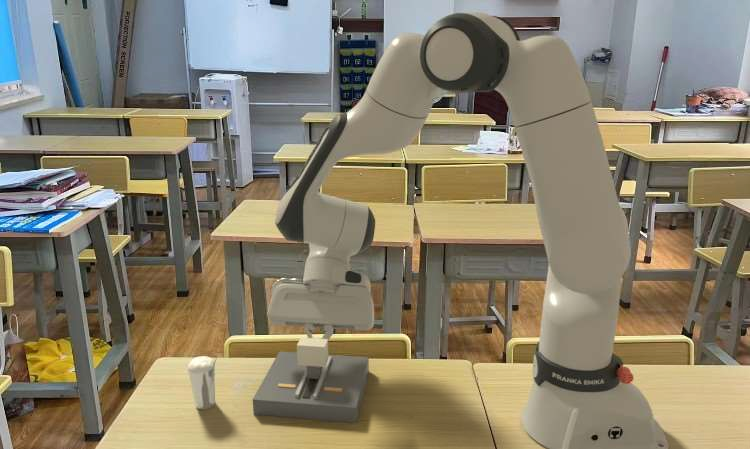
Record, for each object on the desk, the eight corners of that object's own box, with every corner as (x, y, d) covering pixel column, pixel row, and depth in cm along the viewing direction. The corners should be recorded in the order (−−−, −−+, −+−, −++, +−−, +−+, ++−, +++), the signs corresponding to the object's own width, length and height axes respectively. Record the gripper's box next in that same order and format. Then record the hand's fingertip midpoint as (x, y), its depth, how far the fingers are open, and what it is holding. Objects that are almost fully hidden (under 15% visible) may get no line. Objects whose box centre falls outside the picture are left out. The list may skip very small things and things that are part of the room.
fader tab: (328, 372, 101) (327, 339, 98) (325, 381, 98) (324, 347, 96) (302, 371, 101) (300, 337, 99) (298, 379, 98) (296, 345, 96)
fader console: (368, 370, 108) (368, 354, 107) (356, 422, 92) (355, 404, 91) (280, 364, 110) (279, 348, 109) (253, 414, 95) (252, 396, 93)
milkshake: (215, 414, 94) (210, 364, 91) (187, 410, 95) (181, 360, 92) (227, 399, 99) (223, 350, 96) (200, 395, 100) (195, 347, 97)
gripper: (270, 271, 105) (256, 341, 99) (375, 276, 103) (368, 349, 96) (278, 283, 111) (266, 350, 104) (378, 288, 108) (372, 357, 102)
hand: (316, 350), depth 100 cm, fingers closed, pressing on fader tab
